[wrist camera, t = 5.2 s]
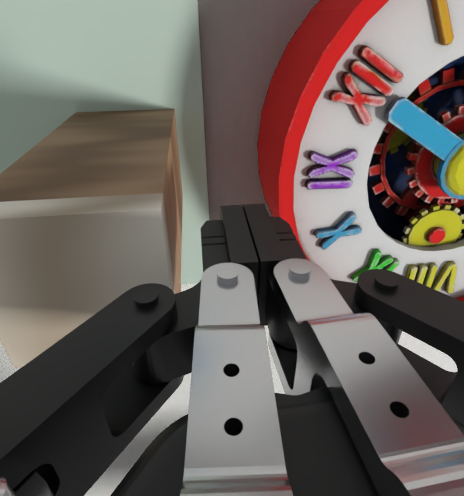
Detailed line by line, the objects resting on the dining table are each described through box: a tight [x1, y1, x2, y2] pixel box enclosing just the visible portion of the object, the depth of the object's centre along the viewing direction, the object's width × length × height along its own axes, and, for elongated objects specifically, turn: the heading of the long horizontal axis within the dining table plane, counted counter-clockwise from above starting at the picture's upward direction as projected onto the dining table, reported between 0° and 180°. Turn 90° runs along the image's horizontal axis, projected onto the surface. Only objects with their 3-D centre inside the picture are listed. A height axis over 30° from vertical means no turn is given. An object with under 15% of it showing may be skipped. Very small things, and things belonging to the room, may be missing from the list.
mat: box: [0, 0, 209, 284], centre depth 20 cm, size 20×18×1 cm
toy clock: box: [258, 0, 464, 302], centre depth 19 cm, size 20×6×20 cm
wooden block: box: [0, 109, 183, 368], centre depth 15 cm, size 5×5×12 cm
